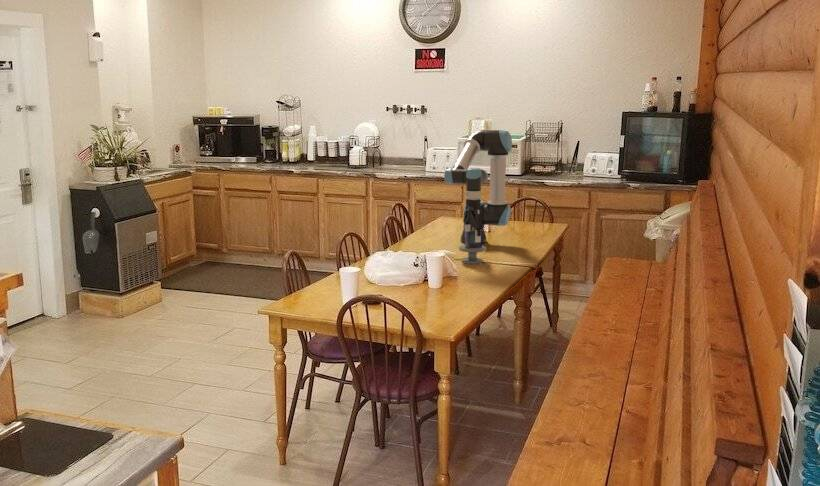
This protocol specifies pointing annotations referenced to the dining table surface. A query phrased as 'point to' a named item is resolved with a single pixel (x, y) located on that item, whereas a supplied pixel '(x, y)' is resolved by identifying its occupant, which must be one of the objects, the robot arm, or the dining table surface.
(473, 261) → the cake stand
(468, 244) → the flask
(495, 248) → the dining table surface
